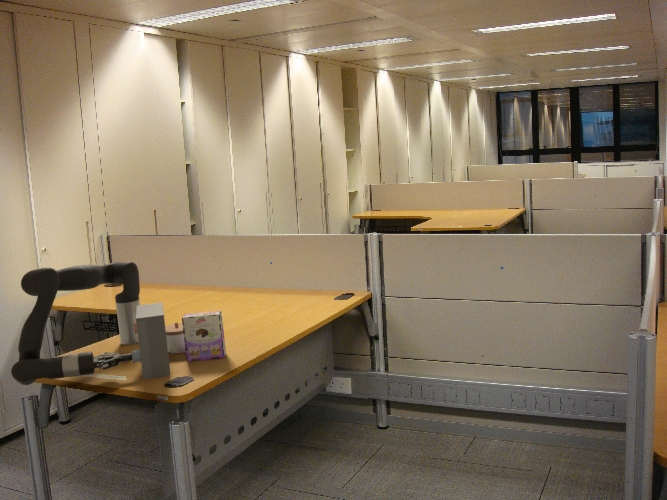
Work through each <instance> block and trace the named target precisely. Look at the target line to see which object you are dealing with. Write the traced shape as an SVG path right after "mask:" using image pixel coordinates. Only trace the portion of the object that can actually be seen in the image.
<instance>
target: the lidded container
mask: <svg viewBox="0 0 667 500" xmlns="http://www.w3.org/2000/svg"><path fill="white" fill-rule="evenodd" d="M165 329H166V338H167V347H168V352H169V353H171V354H181V353H186V349H185V341H184V333H183V324H182V322H181V323H180V322H177V321H175V322H174V323H172V324H168V325H165Z"/></svg>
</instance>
